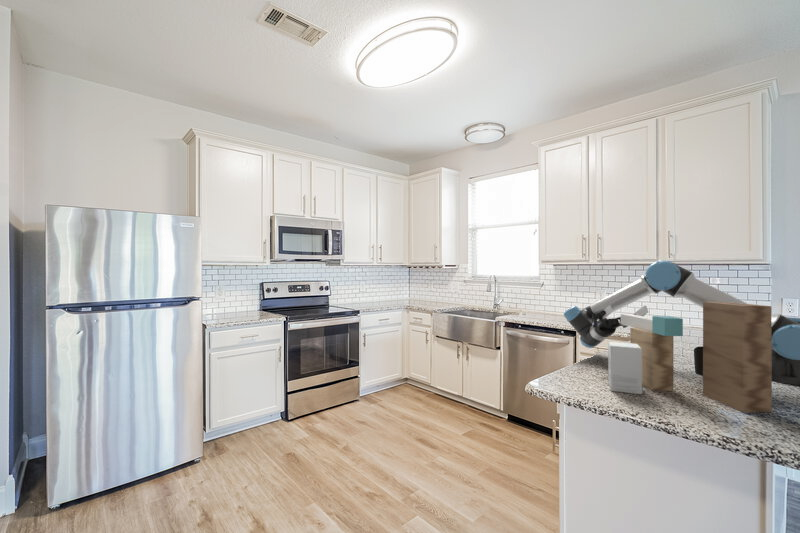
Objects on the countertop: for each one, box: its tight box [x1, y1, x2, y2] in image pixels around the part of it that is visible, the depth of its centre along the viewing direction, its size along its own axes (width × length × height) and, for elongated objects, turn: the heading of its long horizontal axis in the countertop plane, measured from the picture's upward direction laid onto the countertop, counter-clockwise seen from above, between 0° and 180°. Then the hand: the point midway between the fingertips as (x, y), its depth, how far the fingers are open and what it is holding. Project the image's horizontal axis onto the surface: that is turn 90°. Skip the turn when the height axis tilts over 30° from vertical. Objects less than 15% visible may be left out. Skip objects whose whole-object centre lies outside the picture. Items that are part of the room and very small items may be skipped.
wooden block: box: [629, 327, 674, 392], centre depth 128 cm, size 7×12×19 cm, turn 178°
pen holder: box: [693, 345, 703, 376], centre depth 142 cm, size 9×9×10 cm
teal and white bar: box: [620, 313, 684, 337], centre depth 130 cm, size 26×6×6 cm, turn 179°
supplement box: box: [607, 341, 643, 395], centre depth 123 cm, size 9×9×15 cm
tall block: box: [702, 302, 773, 413], centre depth 111 cm, size 8×14×30 cm, turn 178°
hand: (628, 308), depth 141 cm, fingers open, 13 cm apart
